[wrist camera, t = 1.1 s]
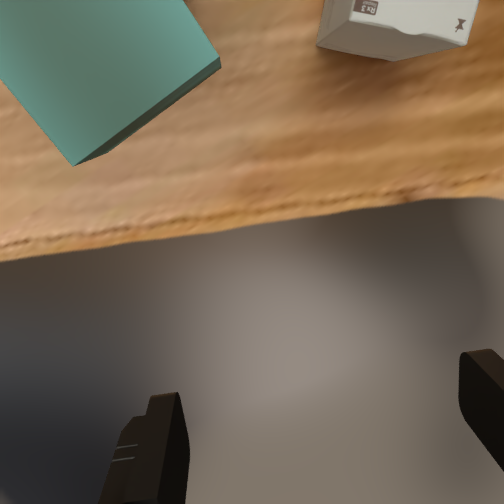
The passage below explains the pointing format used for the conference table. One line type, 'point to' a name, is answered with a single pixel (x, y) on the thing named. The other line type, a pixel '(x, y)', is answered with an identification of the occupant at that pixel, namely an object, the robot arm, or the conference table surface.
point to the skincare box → (395, 26)
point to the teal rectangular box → (100, 66)
